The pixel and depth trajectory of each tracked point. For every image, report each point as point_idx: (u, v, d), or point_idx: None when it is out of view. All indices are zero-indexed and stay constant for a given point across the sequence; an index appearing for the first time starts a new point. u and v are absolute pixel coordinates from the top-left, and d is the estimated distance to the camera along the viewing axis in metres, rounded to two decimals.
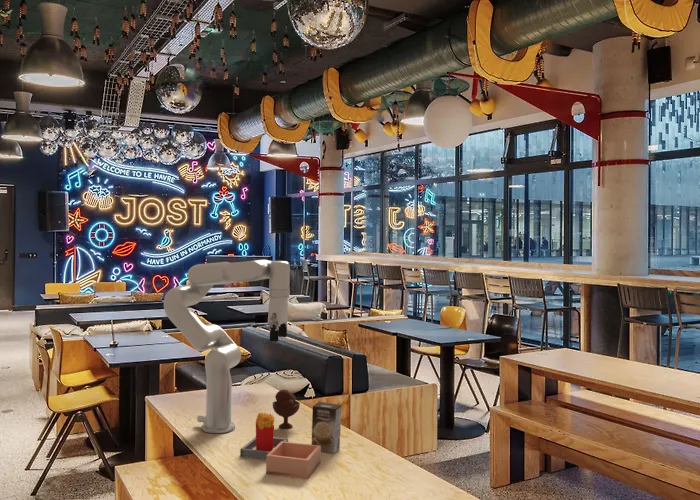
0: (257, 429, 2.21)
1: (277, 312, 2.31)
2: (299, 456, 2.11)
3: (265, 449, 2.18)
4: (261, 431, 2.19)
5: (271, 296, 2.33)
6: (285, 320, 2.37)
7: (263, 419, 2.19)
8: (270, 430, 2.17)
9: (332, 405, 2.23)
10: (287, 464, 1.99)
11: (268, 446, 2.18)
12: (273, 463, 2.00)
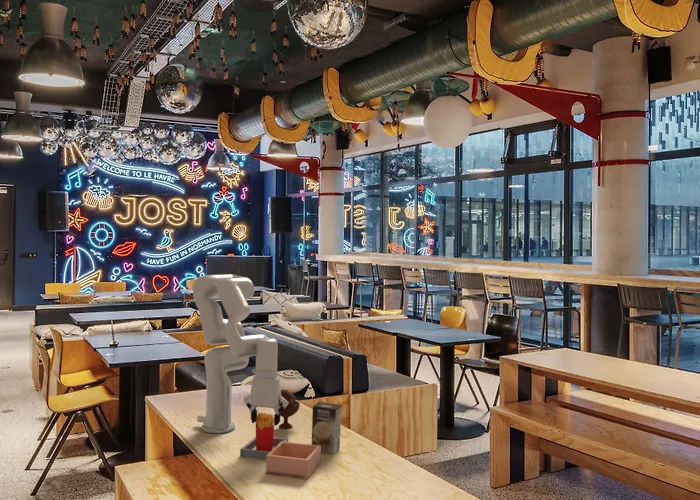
0: (257, 429, 2.21)
1: (280, 392, 2.20)
2: (299, 456, 2.11)
3: (265, 449, 2.18)
4: (261, 431, 2.19)
5: (272, 377, 2.17)
6: None
7: (263, 419, 2.19)
8: (270, 430, 2.17)
9: (332, 405, 2.23)
10: (287, 464, 1.99)
11: (268, 446, 2.18)
12: (273, 463, 2.00)
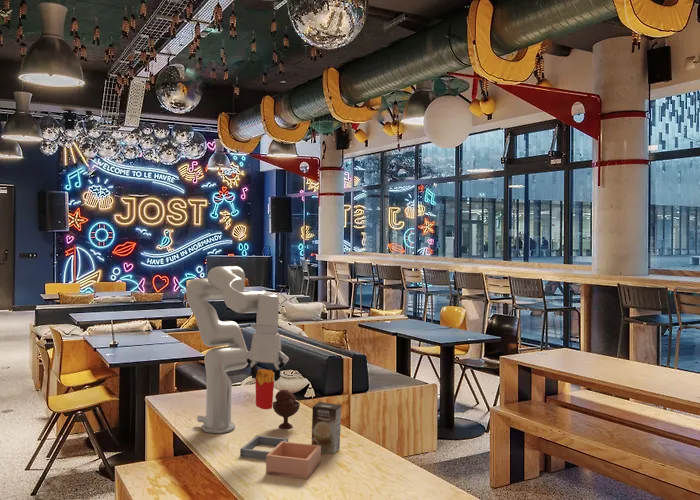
0: (257, 385, 2.20)
1: (280, 348, 2.20)
2: (299, 456, 2.11)
3: (265, 404, 2.18)
4: (261, 386, 2.18)
5: (273, 333, 2.17)
6: None
7: (263, 375, 2.19)
8: (270, 385, 2.17)
9: (332, 405, 2.23)
10: (287, 464, 1.99)
11: (268, 401, 2.18)
12: (273, 463, 2.00)
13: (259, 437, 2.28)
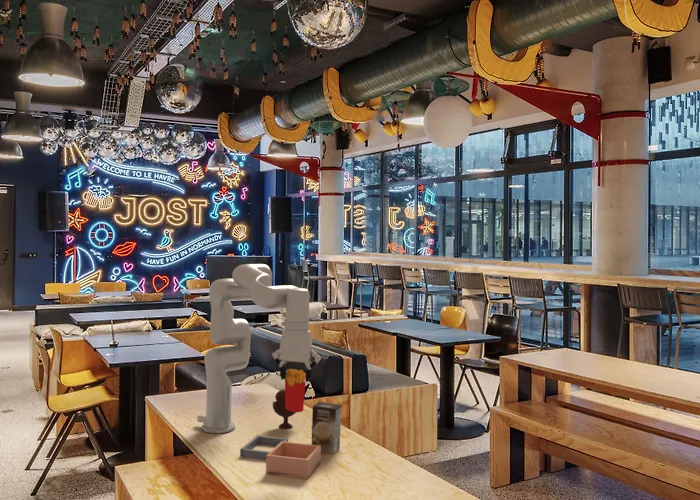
0: (287, 386, 2.05)
1: None
2: (299, 456, 2.11)
3: (296, 407, 2.02)
4: (291, 388, 2.03)
5: (304, 330, 2.01)
6: None
7: (293, 375, 2.03)
8: (301, 386, 2.01)
9: (332, 405, 2.23)
10: (287, 464, 1.99)
11: (299, 403, 2.02)
12: (273, 463, 2.00)
13: (259, 437, 2.28)
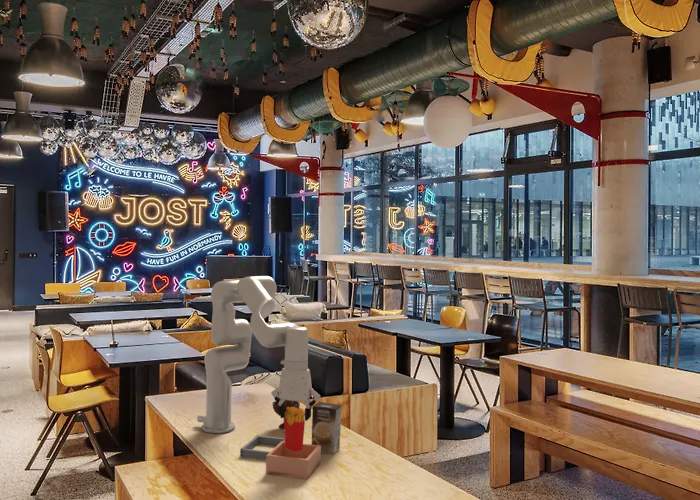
0: (286, 424, 2.05)
1: (311, 385, 2.05)
2: (299, 456, 2.11)
3: (295, 446, 2.02)
4: (291, 426, 2.03)
5: (303, 369, 2.02)
6: None
7: (293, 414, 2.04)
8: (300, 425, 2.02)
9: (332, 405, 2.23)
10: (287, 464, 1.99)
11: (298, 442, 2.02)
12: (273, 463, 2.00)
13: (259, 437, 2.28)
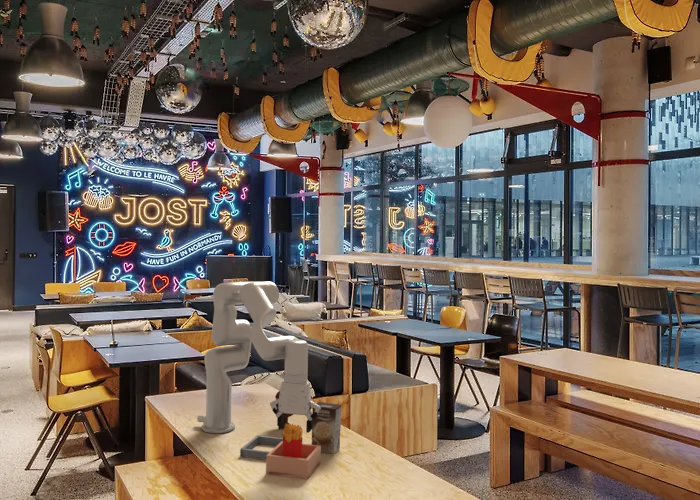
0: (284, 441, 2.06)
1: (310, 398, 2.05)
2: None
3: None
4: (288, 444, 2.04)
5: (303, 382, 2.02)
6: None
7: (290, 431, 2.04)
8: (298, 443, 2.02)
9: (332, 405, 2.23)
10: (287, 464, 1.99)
11: None
12: (273, 463, 2.00)
13: (259, 437, 2.28)
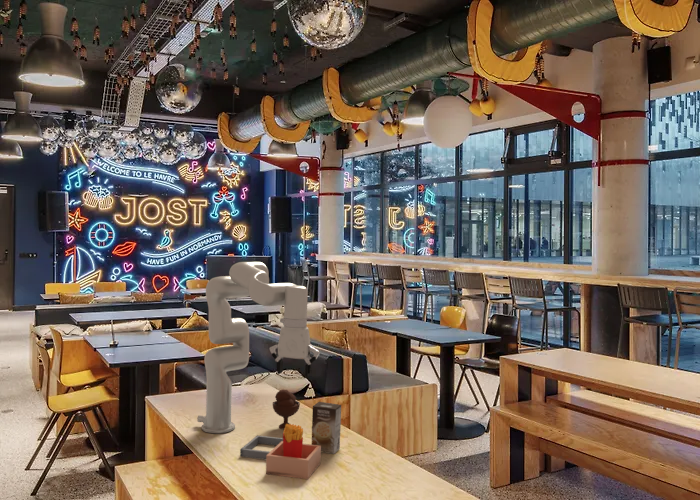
0: (285, 442, 2.06)
1: None
2: None
3: None
4: (289, 444, 2.04)
5: (302, 327, 2.05)
6: None
7: (291, 431, 2.04)
8: (298, 443, 2.02)
9: (332, 405, 2.23)
10: (287, 464, 1.99)
11: None
12: (273, 463, 2.00)
13: (259, 437, 2.28)
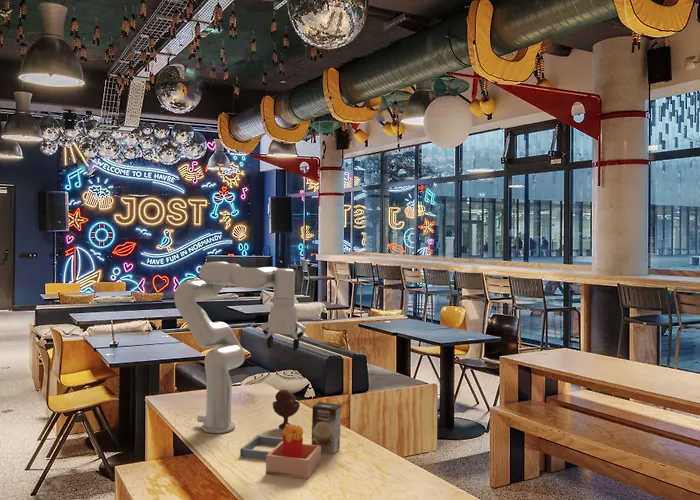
0: (285, 442, 2.06)
1: (297, 320, 2.29)
2: None
3: None
4: (289, 444, 2.04)
5: (290, 305, 2.27)
6: None
7: (291, 431, 2.04)
8: (298, 443, 2.02)
9: (332, 405, 2.23)
10: (287, 464, 1.99)
11: None
12: (273, 463, 2.00)
13: (259, 437, 2.28)
